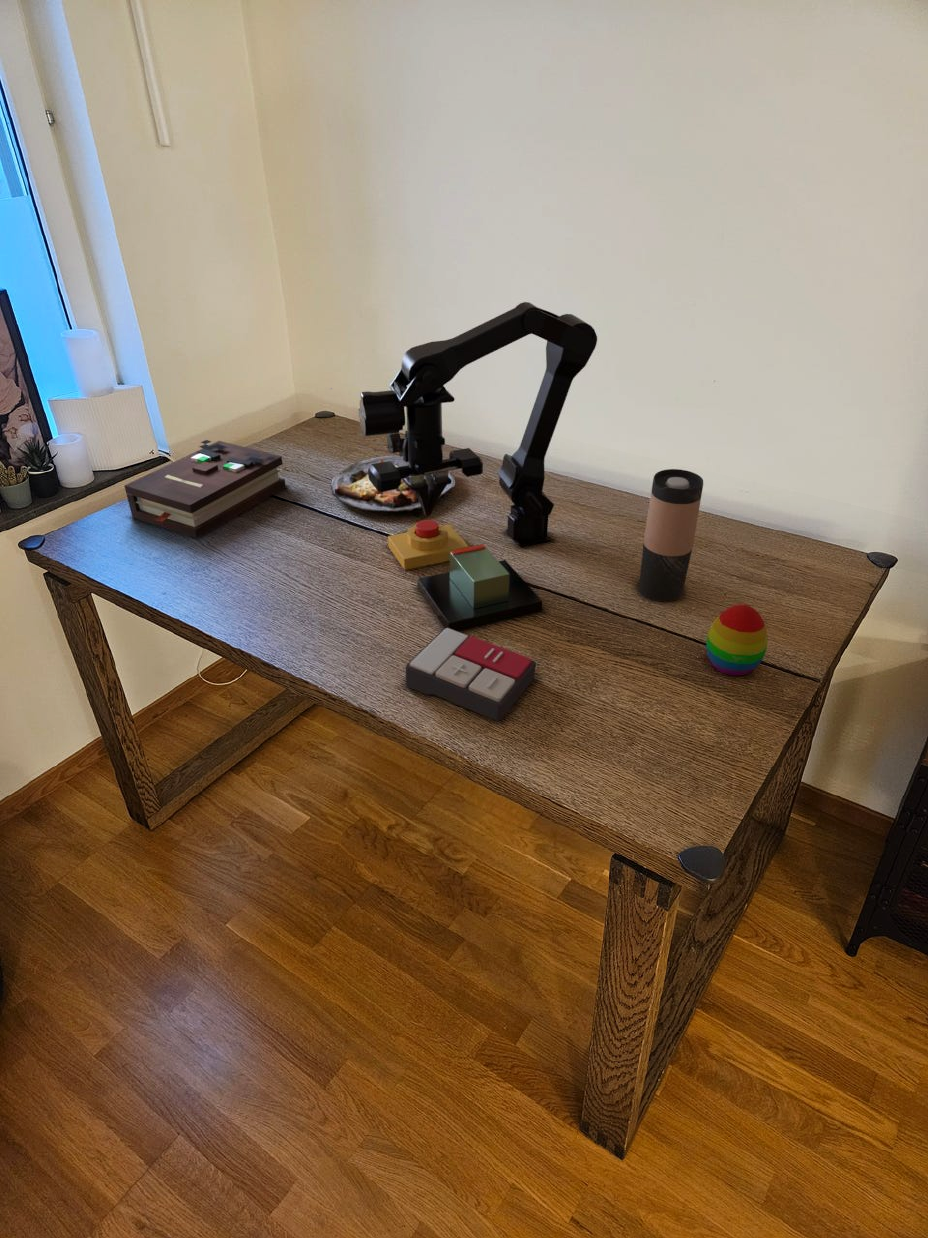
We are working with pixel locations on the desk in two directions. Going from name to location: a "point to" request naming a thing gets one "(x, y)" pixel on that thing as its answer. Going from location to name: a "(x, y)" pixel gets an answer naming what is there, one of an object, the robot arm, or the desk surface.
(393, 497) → the food plate
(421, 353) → the robot arm
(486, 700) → the calculator
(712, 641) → the decorative egg
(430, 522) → the button
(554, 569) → the desk surface
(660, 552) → the travel mug
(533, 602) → the black square platform
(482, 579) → the box
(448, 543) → the button block
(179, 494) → the decorative book
